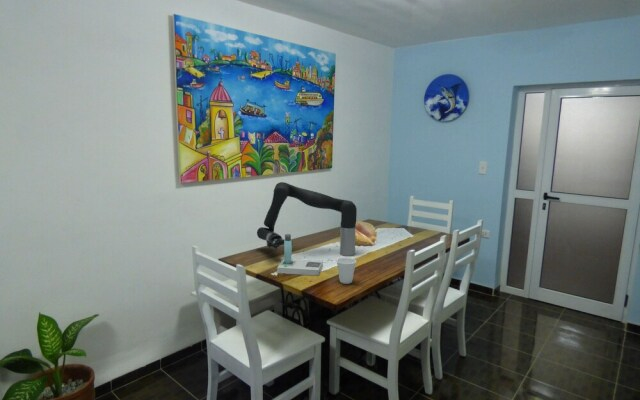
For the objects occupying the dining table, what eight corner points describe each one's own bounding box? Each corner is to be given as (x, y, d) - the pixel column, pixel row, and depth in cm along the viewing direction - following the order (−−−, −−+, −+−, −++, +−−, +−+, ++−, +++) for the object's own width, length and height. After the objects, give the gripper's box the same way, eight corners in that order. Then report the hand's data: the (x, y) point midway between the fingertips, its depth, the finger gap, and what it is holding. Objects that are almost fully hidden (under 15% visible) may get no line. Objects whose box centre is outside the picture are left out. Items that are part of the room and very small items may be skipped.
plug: (285, 267, 208) (285, 233, 205) (292, 267, 208) (292, 234, 205) (283, 269, 204) (283, 235, 201) (290, 269, 204) (290, 235, 201)
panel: (284, 263, 214) (284, 257, 214) (322, 265, 211) (322, 259, 210) (277, 273, 199) (277, 266, 198) (318, 275, 195) (318, 269, 195)
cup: (332, 279, 190) (333, 258, 188) (350, 277, 194) (351, 256, 192) (340, 286, 181) (341, 264, 179) (359, 284, 184) (359, 262, 183)
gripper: (262, 234, 220) (271, 241, 206) (285, 232, 227) (295, 238, 212) (262, 246, 221) (271, 254, 207) (285, 244, 228) (295, 251, 213)
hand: (283, 246), depth 210 cm, fingers open, 8 cm apart
